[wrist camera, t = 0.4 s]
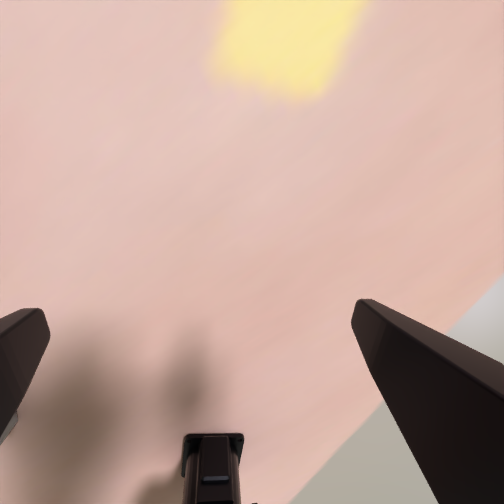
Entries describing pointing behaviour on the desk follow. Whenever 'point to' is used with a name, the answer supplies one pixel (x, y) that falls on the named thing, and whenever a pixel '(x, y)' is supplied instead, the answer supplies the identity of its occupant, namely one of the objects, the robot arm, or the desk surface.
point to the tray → (9, 427)
